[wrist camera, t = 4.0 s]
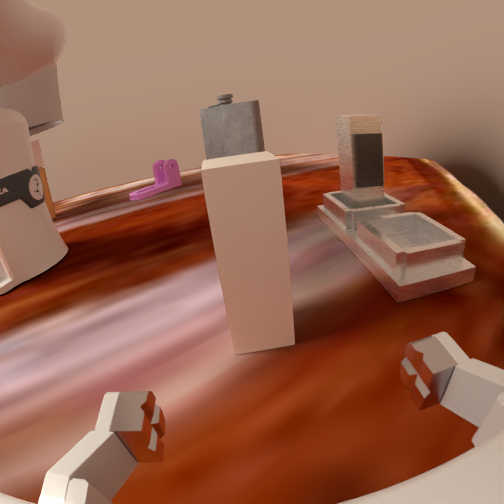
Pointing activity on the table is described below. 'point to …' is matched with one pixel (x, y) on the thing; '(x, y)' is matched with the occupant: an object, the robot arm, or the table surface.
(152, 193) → the bracket
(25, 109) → the lamp
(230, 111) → the hip flask
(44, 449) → the table surface
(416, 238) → the pillar on stepped tray
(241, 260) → the loose rectangular block
